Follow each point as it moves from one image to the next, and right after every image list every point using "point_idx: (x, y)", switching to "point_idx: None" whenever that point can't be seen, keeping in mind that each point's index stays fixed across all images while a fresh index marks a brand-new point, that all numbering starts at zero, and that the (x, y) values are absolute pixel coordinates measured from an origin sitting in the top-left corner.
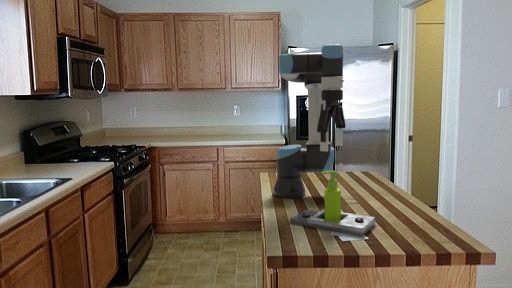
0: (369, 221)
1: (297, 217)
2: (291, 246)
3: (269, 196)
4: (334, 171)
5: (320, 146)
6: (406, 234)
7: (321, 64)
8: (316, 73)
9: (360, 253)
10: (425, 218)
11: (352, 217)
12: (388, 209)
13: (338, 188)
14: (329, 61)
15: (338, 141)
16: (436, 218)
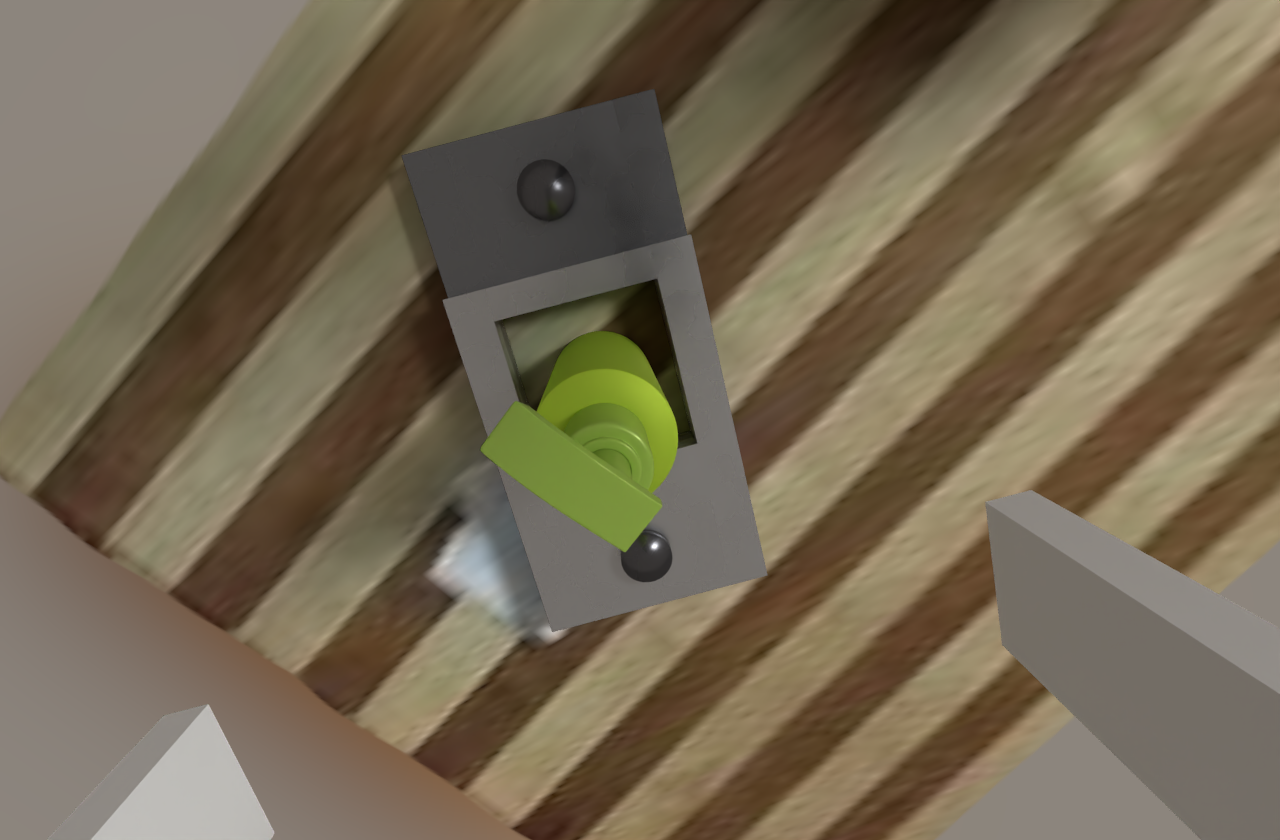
0: (680, 593)
1: (473, 168)
2: (148, 446)
3: None
4: (617, 523)
5: (91, 804)
6: (731, 723)
7: None
8: None
9: (369, 713)
10: (1021, 673)
11: (676, 486)
12: (1068, 459)
13: (662, 462)
14: None
15: (1063, 628)
16: (1052, 707)
